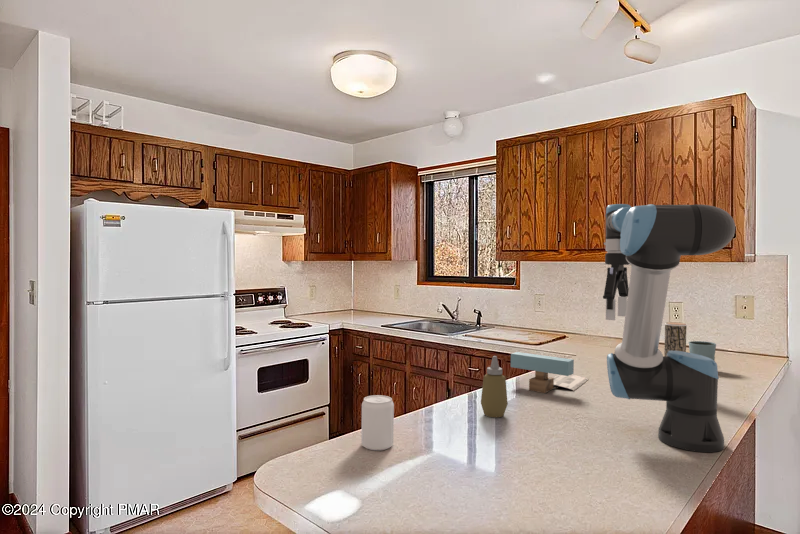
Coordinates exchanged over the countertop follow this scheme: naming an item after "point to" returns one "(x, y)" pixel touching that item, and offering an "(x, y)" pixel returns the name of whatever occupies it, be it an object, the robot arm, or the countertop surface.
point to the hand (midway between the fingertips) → (616, 318)
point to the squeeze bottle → (494, 391)
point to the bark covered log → (675, 337)
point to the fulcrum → (541, 382)
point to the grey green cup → (703, 348)
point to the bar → (542, 363)
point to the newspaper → (569, 381)
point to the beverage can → (377, 422)
